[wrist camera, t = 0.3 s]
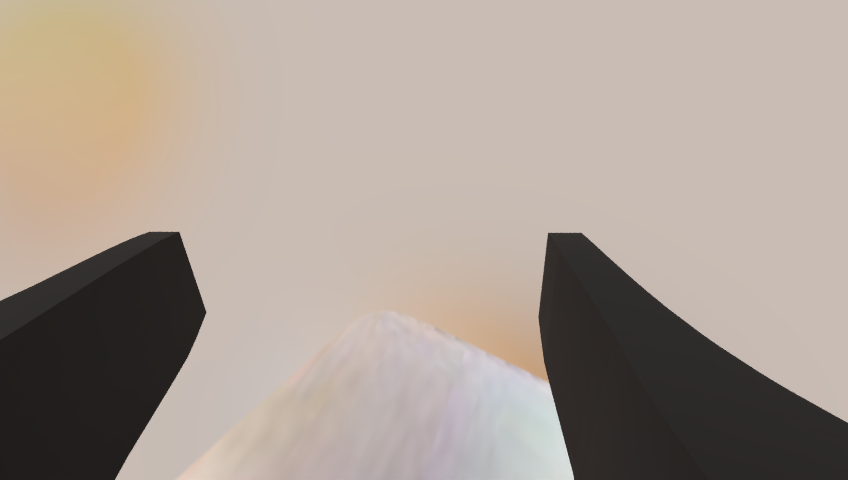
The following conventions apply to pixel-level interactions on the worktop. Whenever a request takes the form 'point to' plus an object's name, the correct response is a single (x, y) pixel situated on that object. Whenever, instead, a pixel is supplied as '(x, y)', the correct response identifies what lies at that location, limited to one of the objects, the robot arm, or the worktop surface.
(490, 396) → the worktop surface
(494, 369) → the worktop surface
